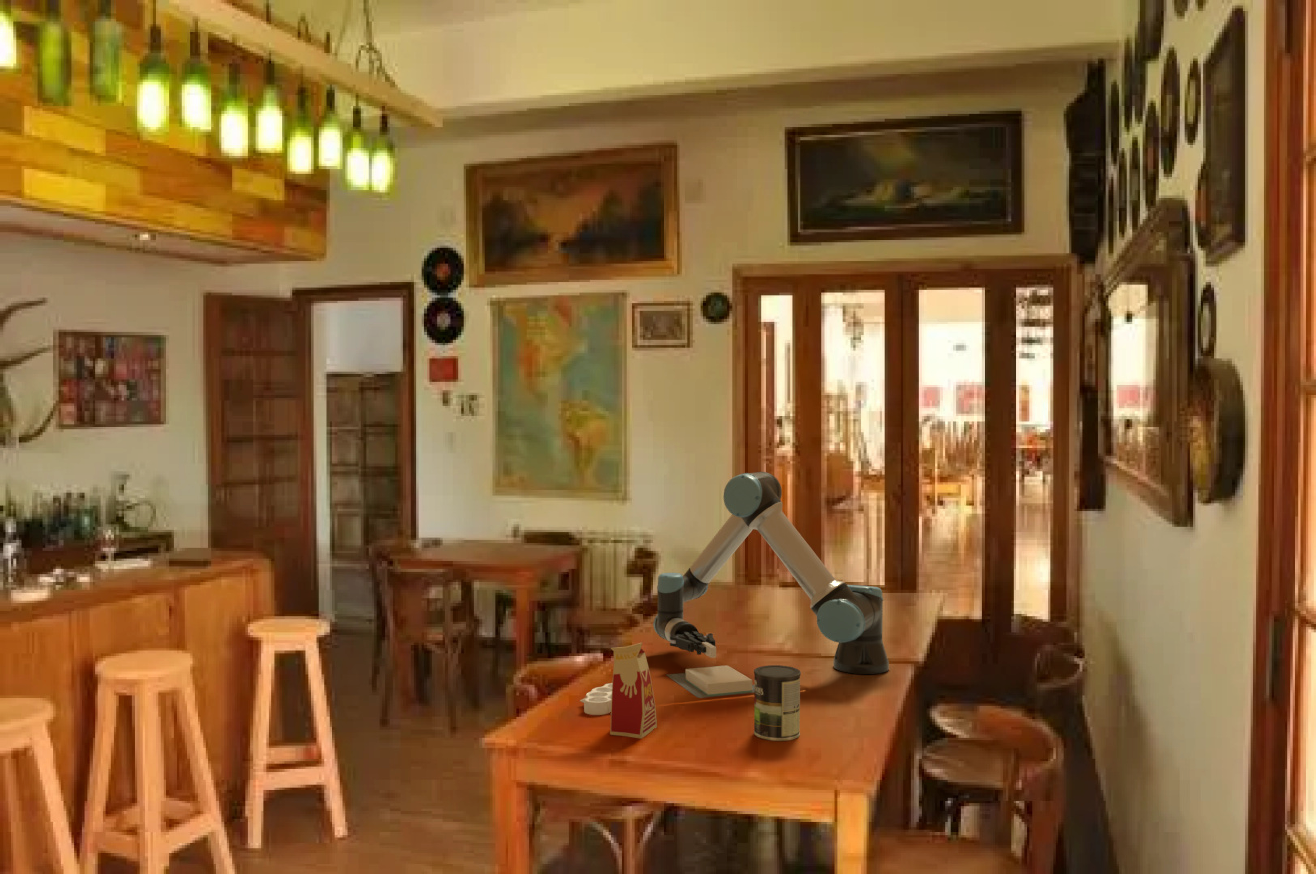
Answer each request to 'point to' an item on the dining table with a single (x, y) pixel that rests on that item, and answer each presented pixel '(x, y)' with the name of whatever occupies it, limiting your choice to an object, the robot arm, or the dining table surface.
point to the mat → (689, 687)
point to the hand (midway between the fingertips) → (713, 652)
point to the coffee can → (777, 702)
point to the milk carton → (632, 694)
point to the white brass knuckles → (598, 700)
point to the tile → (718, 680)
